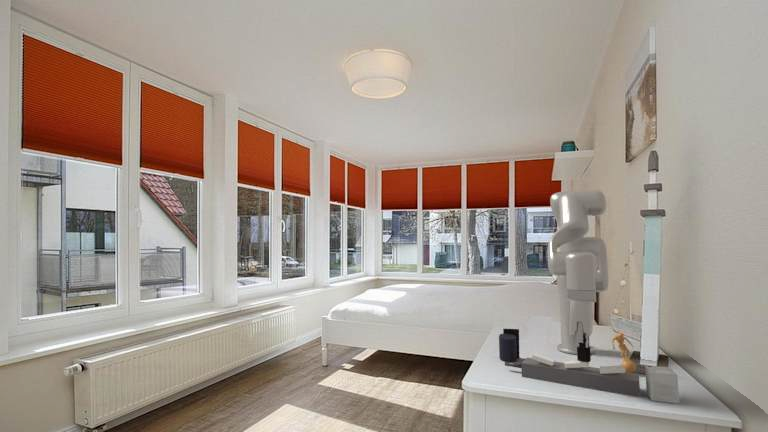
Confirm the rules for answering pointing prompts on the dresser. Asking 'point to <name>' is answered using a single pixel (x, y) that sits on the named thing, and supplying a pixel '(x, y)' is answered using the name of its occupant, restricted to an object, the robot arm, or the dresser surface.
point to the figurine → (627, 363)
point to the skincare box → (662, 384)
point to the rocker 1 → (543, 359)
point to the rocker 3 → (612, 369)
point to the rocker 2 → (575, 364)
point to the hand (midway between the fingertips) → (584, 360)
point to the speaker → (509, 345)
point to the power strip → (580, 377)
